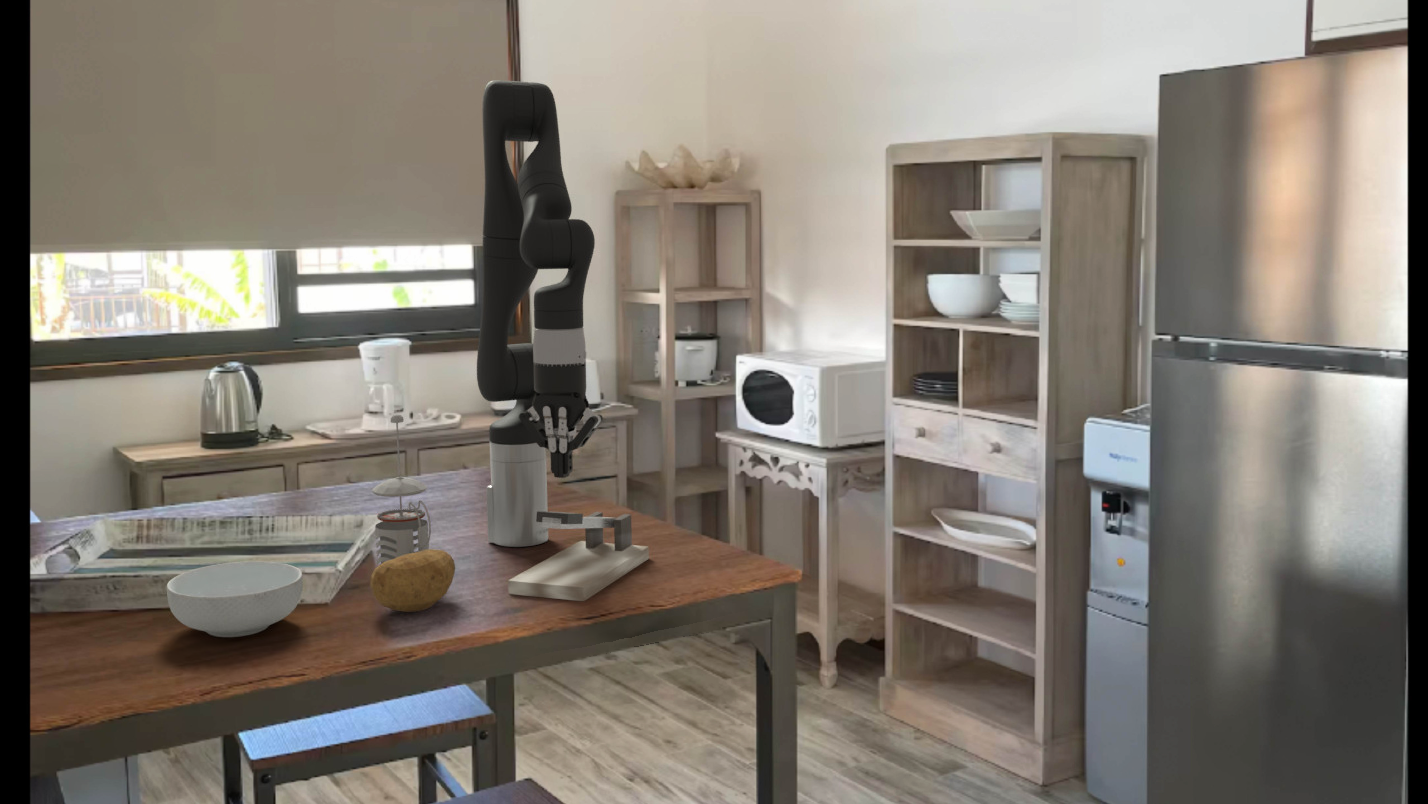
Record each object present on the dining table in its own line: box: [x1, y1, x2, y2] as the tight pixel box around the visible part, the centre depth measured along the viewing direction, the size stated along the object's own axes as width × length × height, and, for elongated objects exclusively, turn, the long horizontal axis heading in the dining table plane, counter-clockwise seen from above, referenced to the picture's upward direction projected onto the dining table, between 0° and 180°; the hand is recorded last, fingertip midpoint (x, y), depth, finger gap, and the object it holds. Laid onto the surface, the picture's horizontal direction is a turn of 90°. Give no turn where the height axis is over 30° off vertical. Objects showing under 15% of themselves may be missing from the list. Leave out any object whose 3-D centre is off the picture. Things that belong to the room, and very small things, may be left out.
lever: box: [536, 511, 617, 530], centre depth 194 cm, size 5×21×2 cm, turn 160°
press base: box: [507, 511, 650, 602], centre depth 194 cm, size 12×24×7 cm, turn 160°
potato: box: [369, 548, 456, 613], centre depth 179 cm, size 10×14×8 cm
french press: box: [371, 414, 432, 565], centre depth 193 cm, size 10×12×25 cm
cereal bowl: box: [166, 560, 303, 638], centre depth 171 cm, size 17×17×7 cm
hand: (562, 476), depth 187 cm, fingers closed
